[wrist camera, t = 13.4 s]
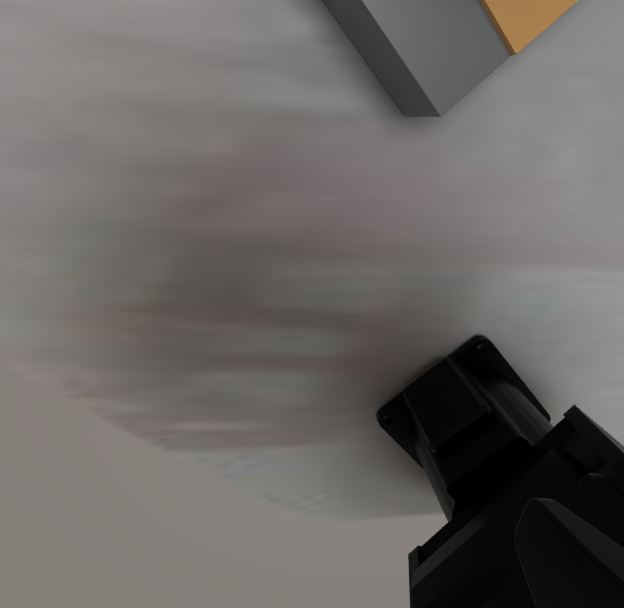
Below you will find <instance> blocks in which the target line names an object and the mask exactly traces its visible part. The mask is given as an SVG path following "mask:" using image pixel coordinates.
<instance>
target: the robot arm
mask: <svg viewBox="0 0 624 608" xmlns="http://www.w3.org/2000/svg"><path fill="white" fill-rule="evenodd" d="M481 344H484V347H483V348H482V349H480V350H477V349H478V347H479V345H481ZM388 415H391V417H390V418H389V419H384V417H385V416H388ZM563 415H564V416H565V418H564V419H562V420H561V421H560V422H559V423H558V424H557V425H556V426H555V427H553V426H552V425H551V424H550V419H551V418H550V415H549V414H548V413H547V411H546V410H545V409H544V408H543V406H542V405H541V404H540V403H539V401H538V400H537V399H536V398H535V396H534V395H533V394H532V393H531V391H530V390H529V389H528V387H527V386H526V385H525V384H524V382H523V381H522V380H521V379H520V377H519V376H518V375H517V374H516V372H515V371H514V370H513V369H512V367H511V366H510V365H509V364H508V362H507V361H506V360H505V358H504V357H503V356H502V355H501V353H500V352H499V351H498V350H497V348H496V347H495V346H494V345H493V343H492V342H491V341H490V340H489V339H488V338H487V337H485V336H482V335H480V336H476V337H474V338H473V339H471V340H470V341H469V342H467V343H466V344H465V345H463V346H462V347H461V348H459V349H458V350H457V351H456V352H454V353H453V354H452V355H450V356H449V357H448V358H446V359H443V360H442V361H441V362H439V363H438V364H437V365H436V366H434V367H433V368H432V369H430V370H429V371H428V372H426V373H425V374H424V375H422V376H421V377H420V378H418V379H417V380H416V381H415V382H413V383H412V384H411V385H409V386H408V387H407V388H405V389H404V391H403V392H402V393H400V394H399V395H398V396H396V397H395V398H394V399H392V400H391V401H390V402H388V403H387V404H386V405H384V406H383V407H382V408H381V409H380V410H379V411H378V412H377V415H376V416H377V420H378V423H379V425H380V426H381V427H382V428H383V429H384V430H385V431H386V432H387V433H388V434H389V435H390V436H391V437H392V438H393V439H394V440H395V441H396V442H397V443H398V444H399V445H400V446H401V447H402V448H403V449H404V450H405V451H406V452H407V453H408V454H409V455H410V456H411V457H412V458H413V459H414V460H415V461H416V462H417V463H418V464H419V465H420V466H421V467H422V468H423V469H424V470H425V472H426V474H427V477H428V479H429V481H430V483H431V485H432V488H433V490H434V492H435V494H436V496H437V499H438V501H439V503H440V505H441V507H442V510H443V512H444V514H445V516H446V518H447V520H448V523H447V524H446V525H445V526H444V527H442V528H441V529H440V530H439V531H438V532H437V533H436V534H435V535H434V536H432V537H431V538H430V539H429V540H428V541H427V542H426V543H425V544H424V545H423V546H417V547H416V548H415V549H414V550H413V551H412V552H411V553H409V555H408V559H409V588H410V608H624V446H623V445H622V444H620V443H619V442H618V441H617V440H616V439H614V438H613V437H612V436H611V435H610V434H609V433H607V432H606V431H605V430H604V429H603V428H601V427H600V426H599V425H598V424H597V423H596V422H594V421H593V420H592V419H591V418H590V417H588V416H587V415H586V414H585V413H584V412H582V411H581V410H580V409H579V408H578V407H577V406H575V405H573V406H572V407H571V408H570V409H569V410H568V411H567V412H565V413H564V414H563Z"/></svg>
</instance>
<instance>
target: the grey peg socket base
mask: <svg viewBox="0 0 624 608" xmlns="http://www.w3.org/2000/svg"><path fill="white" fill-rule="evenodd" d="M322 1H323V2H324V4H325V5H326V6H327V8H328V9H329V11H330V12H331V13H332V15H333V16H334V18H335V19H336V20H337V22H338V23H339V25H340V26H341V27H342V29H343V30H344V32H345V33H346V34H347V36H348V37H349V39H350V40H351V41H352V43H353V44H354V46H355V47H356V48H357V50H358V51H359V53H360V54H361V55H362V57H363V58H364V60H365V61H366V62H367V64H368V65H369V67H370V68H371V69H372V71H373V72H374V74H375V75H376V77H377V78H378V79H379V81H380V82H381V84H382V85H383V86H384V88H385V89H386V91H387V92H388V93H389V95H390V96H391V98H392V99H393V100H394V102H395V103H396V105H397V106H398V107H399V109H400V110H401V112H402V113H403V114H404V116H426V117H441V116H442V115H443V114H445V113H446V112H447V111H448V110H449V109H450V108H451V107H453V106H454V105H455V104H456V103H457V102H458V101H460V100H461V99H462V98H463V97H464V96H465V95H466V94H468V93H469V92H470V91H471V90H472V89H473V88H474V87H476V86H477V85H478V84H479V83H480V82H481V81H482V80H484V79H485V78H486V77H487V76H488V75H489V74H490V73H492V72H493V71H494V70H495V69H496V68H497V67H499V66H500V65H501V64H502V63H503V62H504V61H505V60H507V59H508V58H509V57H510V56H511V55H515V54H517V53H518V52H519V51H520V50H522V49H523V48H524V47H525V46H526V45H527V44H529V43H530V42H531V41H532V40H533V39H534V38H535V37H537V36H538V35H539V34H540V33H541V32H542V31H543V30H545V29H546V28H547V27H548V26H549V25H550V24H552V23H553V22H554V21H555V20H556V19H557V18H558V17H560V16H561V15H562V14H563V13H564V12H565V11H566V10H568V9H569V8H570V7H571V6H572V5H573V4H574V3H576V2H577V1H578V0H322Z"/></svg>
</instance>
